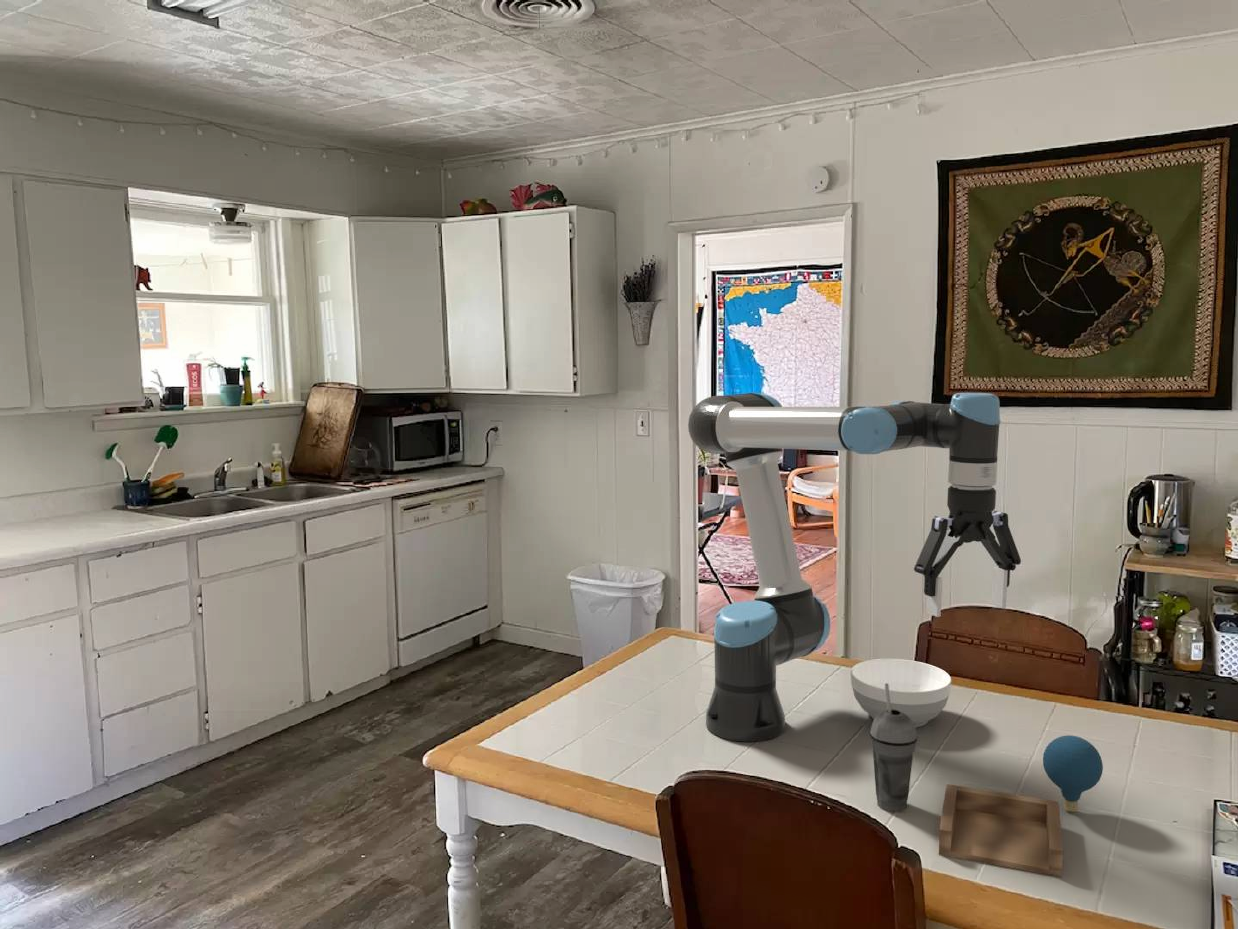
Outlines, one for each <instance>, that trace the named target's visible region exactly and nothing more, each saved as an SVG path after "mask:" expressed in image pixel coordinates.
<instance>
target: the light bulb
mask: <svg viewBox="0 0 1238 929" xmlns="http://www.w3.org/2000/svg"><path fill="white" fill-rule="evenodd" d="M1042 764H1043V769H1044V771H1045V773H1046V775H1047V777H1048V779H1049V780H1050V781H1051V782H1052V783H1053V784H1054V785H1056V786H1057V787H1058V788H1059V789H1060V792H1061V797H1062V798H1063V808H1064V809H1065V810H1066V811H1068V812H1070V813H1071V812H1073V813H1074V812H1075V811H1077V810H1078V801H1079V800H1080V799H1081V796H1082V793H1084V792H1087V791H1089V790H1091V789H1092V788H1094V787H1095V786H1097V785H1098V783H1099V782H1100V779H1101V778H1102V775H1103V772H1104V764H1103V760H1102V757H1101V755H1100V752H1099V751H1098V749H1096V747H1095V746H1094V745H1093V744H1092V743H1091V742H1090V741H1089V740H1086V739H1084V738H1083V737H1079V736H1078V735H1077V736H1075V735H1062V736H1058V737H1056V738H1055V739H1053V740H1051V741H1050V742H1049V743H1048V745H1047V746H1046V748H1045V749H1044V752H1043V755H1042Z"/></svg>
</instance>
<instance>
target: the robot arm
mask: <svg viewBox="0 0 1238 929" xmlns="http://www.w3.org/2000/svg"><path fill="white" fill-rule="evenodd" d="M1000 410H1001V409H1000V398H999V396H997V395H996V394H993V393H988V392H987V393H986V392H957V393H954V394H953V395H952V397H951V401H950V403H944V404H943V403H934V402H933V403H932V402H917V401H910V400H908V401H907V400H906V401H905V400H904V401H894V402H892V403H890V404H889V405H879V406H877V405H876V406H783V405H782V404H781V403H780V402H779V401H778V400H777V399H776V398H774V397H773V396H771V395H769V394H766V393H758V392H757V393H756V392H747V393H736V394H735V393H734V394H726V395H725V394H723V395H713V396H709V397H706V398H705V399H703V400H700V401H699V402H698V403H697V404H696V405H695V406H694V407H693V409H692V410H691V413H690V414H689V417H688V424H687V426H688V433H689V437H690V438H691V440H692V442H693V444H694V445H695V446H696V447H697V448H698V449H699V450H701V451H702V452H705V453H709V454H713V455H724V457H725V463H726V465H727V466H728V467H730V468H731V469H733V470H734V472H736V479H737V484H738V487H739V488H738V489H739V492H740V493H739V494H740V497H741V502H742V507H743V512H744V516H745V520H746V521H745V522H746V526H747V531H748V535H749V542H750V546H751V551H752V556H753V560H754V564H755V565H754V566H755V568H756V570H755V571H756V575H757V579H758V585H759V587H758V589H757V591H756V592H755V595H754V596H753V597H754V598H753V599H754V600H746V601H736V602H732V603H729V604H727V605H725V606H723V607H722V608H721V609H720V610H719V611H718V612H717V613H716V616H715V621H714V623H715V624H714V630H713V638H714V688H713V691H712V694H711V697H710V701H709V704H708V706H707V708H706V709H707V710H706V713H705V725H706V728H707V730H708V731H709V732H710V733H712V734H713V735H715V736H717V737H720V738H721V739H727V740H729V741H730V740H731V741H736V742H761V741H768V740H770V739H771V740H772V739H774V738H777V737H778V736H781V735H782V734H783V733H784V732H785V729H786V718H785V717H786V716H785V713H784V709H783V706H782V703H781V700H780V697H779V694H778V690H777V666H779V665H782V664H785V663H788V662H790V661H793V660H796V659H799V658H803V657H807V656H809V655H811V654H812V653H814V652H815V651H817V650H818V649H820V648H821V647H822V646H823V645H824V644H826V641H827V640H828V638H829V635H830V631H831V617H830V612H829V610H828V608H827V606H826V604H825V603H824V602H822V601H821V599H820V598H819V597H818V596H816V595H815V594H814V592H813V588H812V585H811V584H810V583H808V582H807V581H805V580H804V578H803V577H802V573H801V567H800V563H799V558H798V554H797V550H796V544H795V539H794V535H793V534H794V533H793V530H792V525H791V521H790V516H789V511H788V507H787V502H786V501H787V500H786V498H785V497H786V496H785V493H784V487H783V482H782V479H781V473H780V468H779V464H778V463H779V461H780V459H781V458H782V456H783V454H784V451H783V449H785V450H814V451H820V450H821V451H840V452H841V451H842V452H844V451H846V452H854V453H856V454H860V455H878V454H880V453H884V452H889V451H890V452H891V451H897V450H903V449H909V448H917V447H926V448H937V449H938V448H939V449H948V451H949V453H948V454H949V455H948V456H949V457H948V458H949V460H948V472H947V473H948V477H947V483H949V484H950V486H949V487H947V502H946V506H947V507H948V510H949V511H948V512H949V514H948V517H941V516H936V515H935V516H933V517H932V520H931V525H930V526H931V528H930V532H929V534H928V536H927V537H926V540H925V542H924V545H923V547H922V548H921V551H920V553H919V555H918V558H917V561H916V563H915V565H914V567H913V570H914V572H915V573H918V574H921V575H923V576H924V584H923V585H924V586H923V587H924V588H923V593H924V595H926V606H925V607H926V609H925V610H926V612H925V613H927V614H929V615H931V616H934V617H937V618H939V617H941V615H942V614H941V613H942V596H943V595H942V592H943V590H942V588H943V577H941V576H939V575H940V574H941V572H942V571H943V570H944V568H945V567H946V565H947V564H948V562H949V561H950V559H951V558H952V557H953V555H954V554H955V552H956V551H957V549H958V548H959V547H961V546H963V545H964V543H966V544H968V543H972V542H977V543H979V542H980V543H981V544H982V546H983V547H984V548H985V550H986V552H987V553H988V554H989V556H990V557H991V559H992V560H993V561H994V563H995V564H996V566H994V567H992V574H991V575H992V576H991V594H990V595H991V597H990V604H991V605H992V606H995V607H998V608H1001V609H1005V608H1006V607H1007V592H1008V591H1007V589H1008V588H1009V587H1010V578H1011V571H1015V570H1016V568H1017V566H1018V565H1020V564H1021V563H1022V559H1021V557H1020V552H1019V551H1018V549H1017V546H1016V543H1015V540H1014V537H1013V535H1012V533H1011V529H1010V525H1009V515H1008V513H1005V512H1002V511H998V510H995V509H996V503H997V502H996V499H997V490H996V489H995V487H994V486H996V484H997V477H998V475H997V474H998V452H999V451H998V449H999V435H1000V425H1001V417H1000V414H1001V413H1000V412H1001V411H1000ZM991 526H992V527H993V531H994V532H992V530H991ZM996 538H997V539H996Z"/></svg>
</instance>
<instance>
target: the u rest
mask: <svg viewBox="0 0 1238 929" xmlns="http://www.w3.org/2000/svg"><path fill="white" fill-rule="evenodd" d="M945 786H946V788H945V793H944V800H943V804H942V810H941V817H940V823H939V824H940V825H939V833H938V834H939V836H938V839H939V840H938V855H941V856H945V857H950V858H951V857H952V858H958V859H962V860H966V861H967V860H968V861H973V862H979V863H984V864H988V865H994V866H1001V867H1005V868H1009V869H1010V868H1011V869H1016V870H1021V871H1025V872H1027V871H1028V872H1032V873H1037V874H1042V875H1048V876H1053V877H1059V878H1062V876H1063V860H1064V859H1063V855H1064V851H1063V850H1064V849H1063V840H1062V839H1063V838H1062V837H1063V836H1062V827H1061V826H1062V825H1061V814H1060V804H1059V803H1060V802H1059V801H1056V800H1050V799H1043V798H1038V797H1030V796H1024V795H1019V794H1013V793H1007V792H1000V791H993V790H988V789H981V788H974V787H967V786H963V785H962V786H961V785H955V784H949V783H947V784H946V785H945Z"/></svg>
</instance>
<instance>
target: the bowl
mask: <svg viewBox="0 0 1238 929" xmlns="http://www.w3.org/2000/svg"><path fill="white" fill-rule="evenodd" d="M886 683H888V686H889V696H890V705H891V710H898V711H901V712H903V713H905V714H906V715H907V716H908V717H909V718H910V719H911V720H912V722H913V724H914V726H915V728H919V727H923V726H924V725H926V724H927V723H928V722H929V721H930V720H933V719H935V718H936V717H937V716H938V715H940V713H941V712H942V710H944V708H945V707H946V706H947V702H948V699H949V697H950V694H951V686H952V676H950V674H949V673H948V672H946V671H945V670H944V669H942V668H939V667H937V666H934V665H932V664H929V663H925V662H921V661H916V660H912V659H911V660H909V659H903V658H878V659H877V658H876V659H870V660H865V661H861V662H859V663H856V664H855V665H853V667H852V668H851V669H850V684H851V687H852V692H853V696H854V698H855V700H856V701H857V703H858V704H859V706H860V707H861V709H862V710H863V711H864V712H866V713H867V714H868V715H870V716H871V718H872V719H873V720H874V719H875V718H876V717H877V716H878V715H879V714H880V713H881V712H883V711H886V710H888V709H887V699H886V690H885V684H886Z"/></svg>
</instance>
